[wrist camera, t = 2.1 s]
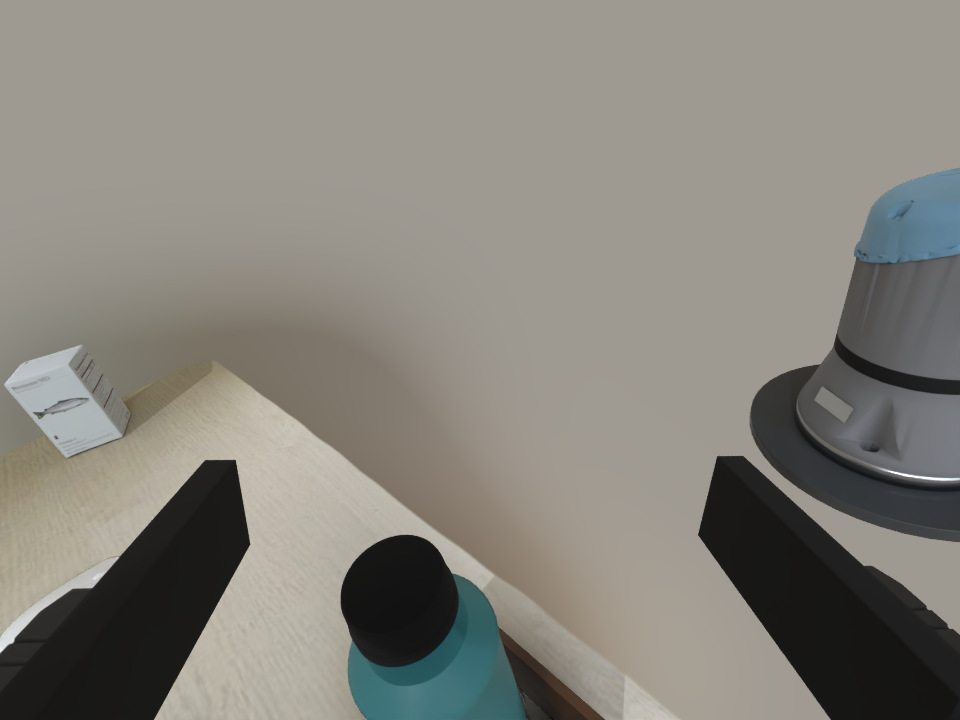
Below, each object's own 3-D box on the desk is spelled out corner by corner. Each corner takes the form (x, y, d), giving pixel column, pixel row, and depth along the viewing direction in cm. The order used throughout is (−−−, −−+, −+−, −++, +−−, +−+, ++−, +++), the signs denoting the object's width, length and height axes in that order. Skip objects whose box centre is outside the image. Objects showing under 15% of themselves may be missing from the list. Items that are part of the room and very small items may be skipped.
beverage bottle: (566, 821, 25) (514, 616, 14) (450, 891, 24) (301, 718, 13) (517, 694, 30) (453, 478, 20) (420, 745, 29) (297, 541, 19)
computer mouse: (152, 568, 45) (138, 553, 43) (11, 706, 36) (-11, 692, 35) (111, 552, 48) (97, 537, 46) (-29, 676, 39) (-51, 662, 37)
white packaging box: (65, 460, 64) (-1, 385, 57) (79, 431, 70) (21, 361, 63) (124, 438, 66) (67, 363, 59) (133, 412, 72) (82, 342, 65)
